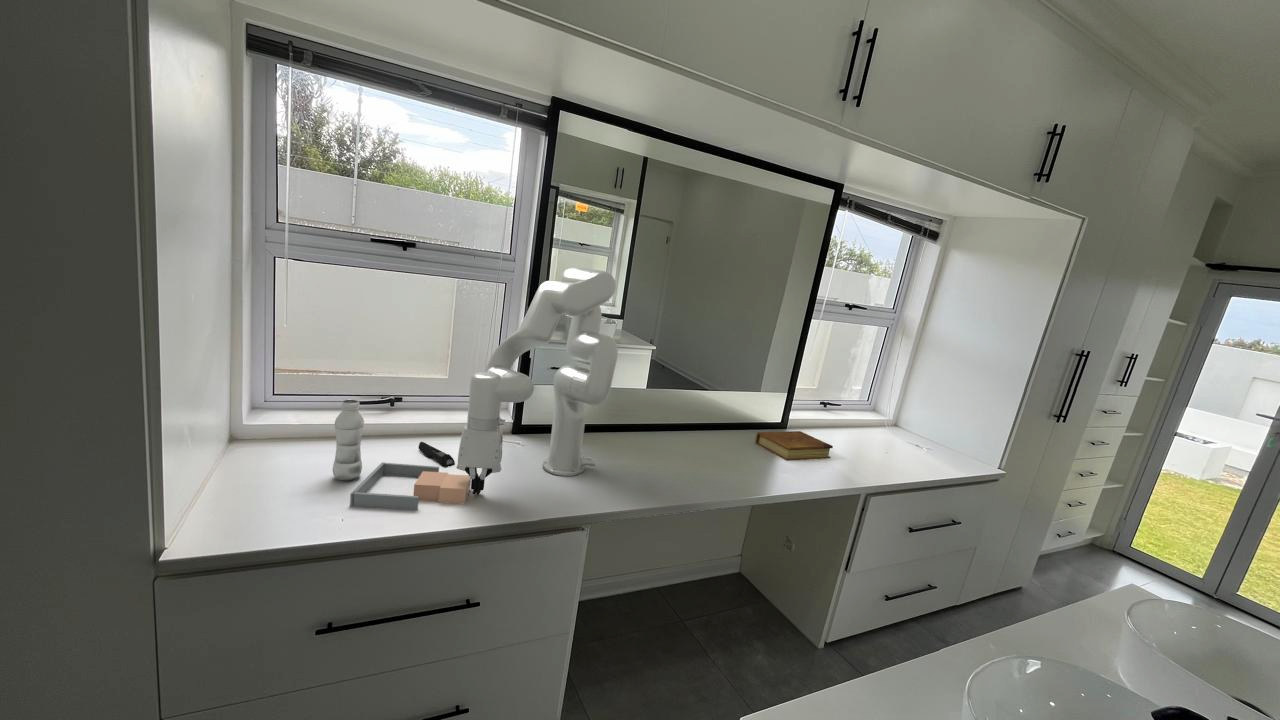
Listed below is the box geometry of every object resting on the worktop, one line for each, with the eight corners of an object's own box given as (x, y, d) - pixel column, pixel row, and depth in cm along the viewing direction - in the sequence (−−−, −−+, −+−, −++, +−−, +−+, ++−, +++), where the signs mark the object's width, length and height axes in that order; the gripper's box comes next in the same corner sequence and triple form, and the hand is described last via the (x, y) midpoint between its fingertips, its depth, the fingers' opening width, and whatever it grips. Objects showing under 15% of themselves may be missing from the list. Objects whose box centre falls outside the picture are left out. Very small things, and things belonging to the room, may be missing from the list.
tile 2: (470, 490, 126) (471, 475, 126) (464, 504, 119) (465, 489, 118) (445, 488, 125) (446, 474, 125) (438, 503, 118) (439, 487, 117)
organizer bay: (438, 477, 131) (439, 466, 130) (416, 509, 113) (417, 497, 112) (381, 473, 128) (381, 462, 128) (349, 505, 111) (350, 493, 110)
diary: (796, 443, 211) (799, 430, 210) (830, 459, 194) (833, 446, 193) (754, 444, 200) (757, 430, 199) (786, 461, 184) (789, 447, 183)
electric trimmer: (426, 449, 149) (427, 439, 149) (455, 465, 140) (456, 455, 139) (415, 452, 146) (415, 442, 146) (443, 468, 137) (444, 458, 136)
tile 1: (446, 487, 126) (447, 472, 126) (439, 501, 119) (440, 485, 118) (421, 486, 125) (422, 471, 125) (413, 500, 117) (414, 484, 117)
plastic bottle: (330, 484, 119) (333, 405, 116) (333, 473, 125) (336, 397, 122) (361, 482, 122) (365, 405, 119) (362, 471, 128) (365, 398, 125)
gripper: (515, 420, 125) (509, 487, 128) (455, 415, 123) (449, 483, 126) (512, 430, 118) (505, 500, 121) (447, 424, 115) (442, 497, 118)
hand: (477, 492), depth 123 cm, fingers closed
